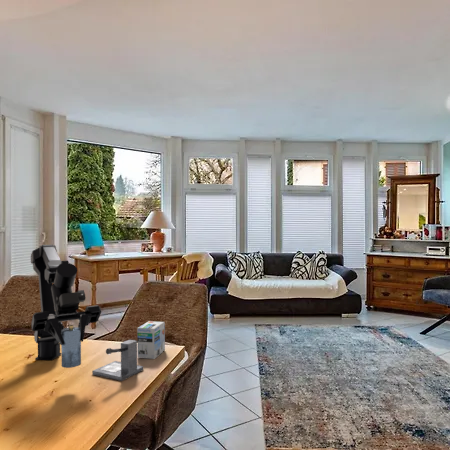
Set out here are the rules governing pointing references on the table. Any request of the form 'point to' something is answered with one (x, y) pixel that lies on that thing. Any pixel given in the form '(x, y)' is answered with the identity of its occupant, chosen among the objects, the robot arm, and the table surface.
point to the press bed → (121, 363)
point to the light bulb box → (151, 339)
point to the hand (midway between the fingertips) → (72, 342)
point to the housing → (71, 347)
